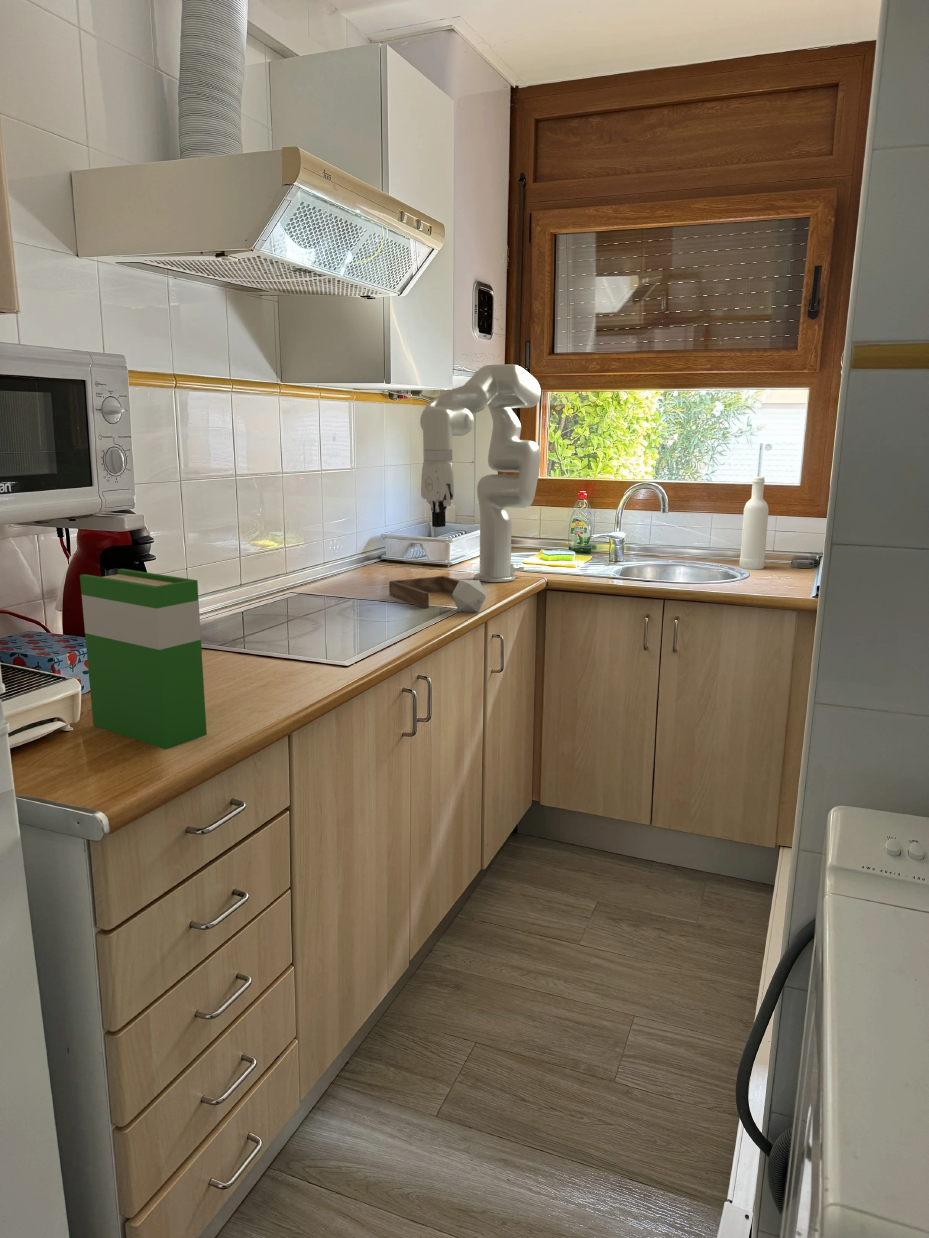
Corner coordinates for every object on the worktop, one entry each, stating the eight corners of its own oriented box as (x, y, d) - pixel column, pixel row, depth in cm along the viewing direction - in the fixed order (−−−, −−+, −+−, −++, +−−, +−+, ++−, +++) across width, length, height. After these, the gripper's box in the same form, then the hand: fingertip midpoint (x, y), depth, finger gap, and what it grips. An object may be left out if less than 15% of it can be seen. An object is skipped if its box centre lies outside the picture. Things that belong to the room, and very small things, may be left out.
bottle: (746, 565, 299) (753, 476, 293) (768, 567, 294) (775, 477, 287) (734, 567, 293) (741, 476, 287) (757, 570, 288) (764, 478, 282)
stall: (443, 589, 251) (443, 575, 251) (481, 601, 235) (481, 587, 234) (389, 595, 243) (389, 581, 242) (424, 608, 226) (424, 593, 225)
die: (471, 618, 218) (493, 586, 219) (442, 599, 219) (464, 568, 220) (473, 623, 226) (494, 592, 227) (446, 605, 227) (466, 574, 228)
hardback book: (93, 725, 138) (79, 575, 133) (134, 713, 144) (122, 568, 139) (166, 749, 128) (155, 587, 123) (206, 734, 134) (197, 580, 129)
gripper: (411, 455, 233) (412, 524, 238) (440, 458, 221) (441, 531, 226) (435, 454, 237) (436, 522, 242) (465, 457, 225) (465, 528, 229)
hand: (438, 526), depth 234 cm, fingers closed
